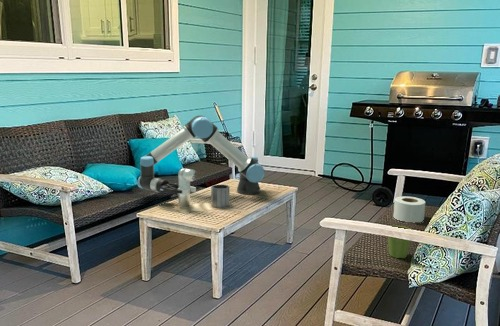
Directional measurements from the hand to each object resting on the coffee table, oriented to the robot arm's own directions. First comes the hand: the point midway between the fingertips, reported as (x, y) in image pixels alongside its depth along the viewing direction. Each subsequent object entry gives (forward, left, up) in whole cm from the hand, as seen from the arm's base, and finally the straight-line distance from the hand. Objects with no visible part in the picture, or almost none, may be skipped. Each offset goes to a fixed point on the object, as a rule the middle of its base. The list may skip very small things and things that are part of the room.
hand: (191, 191), depth 239 cm
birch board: (-7, -2, -12) cm, 14 cm away
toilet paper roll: (-105, +54, -12) cm, 118 cm away
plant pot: (-65, +90, -12) cm, 112 cm away
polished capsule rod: (+2, -3, -9) cm, 10 cm away
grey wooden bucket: (-17, -1, -10) cm, 20 cm away
